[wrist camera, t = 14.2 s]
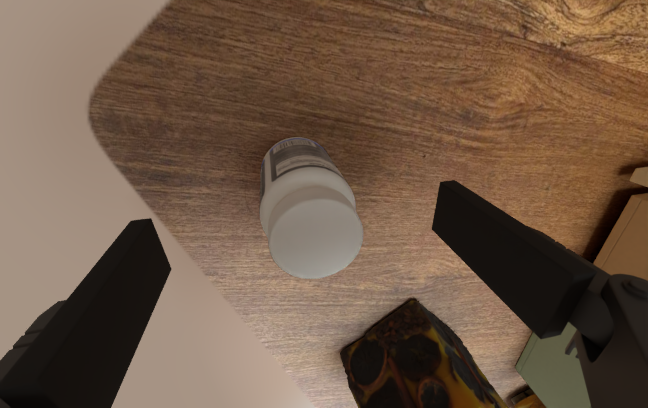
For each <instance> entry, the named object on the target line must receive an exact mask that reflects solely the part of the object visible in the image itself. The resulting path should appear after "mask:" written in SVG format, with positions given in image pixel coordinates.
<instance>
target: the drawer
mask: <svg viewBox="0 0 648 408" xmlns="http://www.w3.org/2000/svg"><path fill="white" fill-rule="evenodd" d="M629 181H631V182H634V183H637V184H640V185H642V186H645V187H648V167H642V168H636V169H635V171H634V173H633V174H632V176H631V178H630V180H629ZM593 264H594V265H595V266H597V267H599V268H600V269H602V270H603V271H605V272H607V273H608V274H610V275H613V274H627V275H633V276H636V277H639V278H643V279H645V280H647V281H648V193H644V194H637V195H632V196H631V198H630V199H629V201H628V203H627V205H626V206H625V208H624V210H623V212H622V214H621V215H620V217H619V219H618V221H617V222H616V224H615V226H614V228H613V229H612V231H611V233H610V235H609V236H608V238H607V240H606V242H605V243H604V245H603V247H602V249H601V251H600V252H599V254H598V256H597V258H596V259H595V261H594V263H593Z"/></svg>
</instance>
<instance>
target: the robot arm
mask: <svg viewBox="0 0 648 408" xmlns="http://www.w3.org/2000/svg"><path fill="white" fill-rule="evenodd" d="M432 230H433V231H434V232H435V233H436V234H437V235H438V236H439V237H440V238H441V239H442V240H443V241H444V242H445V243H446V244H447V245H448V246H449V247H450V248H451V249H452V250H453V251H454V252H455V253H456V254H457V255H458V256H459V257H460V258H461V259H462V260H463V261H464V262H465V263H466V264H467V265H468V266H469V267H470V268H471V269H472V270H473V271H474V272H475V273H476V274H477V275H478V276H479V277H480V278H481V279H482V280H483V281H484V282H485V284H486V285H487V286H488V287H489V288H490V289H491V290H492V291H493V292H494V293H495V294H496V295H497V296H498V297H499V298H500V299H501V300H502V301H503V302H504V303H505V304H506V305H507V306H508V307H509V308H510V309H511V310H512V311H513V312H514V313H515V314H516V315H517V316H518V317H519V318H520V319H521V320H522V321H523V322H524V323H525V324H526V325H527V326H528V327H529V328H530V329H531V330H532V331H533V332H534V333H535V334H536V335H537V336H538V337H539V338H540V339H545V338H550V337H554V336H558V335H561V334H562V332H563V330H564V328H565V327H566V325H567V323H568V322H569V323H570V324H571V325H573V326H574V327H575V328H576V329H577V330H576V332H575V334H574V335H573V337H572V338H571V340H570V342H569V343H568V345H567V347H566V348H565V354H567V355H570V353H571V352H572V350H573V348H576V349H577V355H576V356H575V358H578V359H579V361H580V365H581V369H582V373H583V377H584V380H585V384H586V388H587V392H588V396H589V400H590V404H591V408H648V281H647V280H645V279H643V278H639V277H636V276H633V275H627V274H613V275H610V274H608V273H607V272H605V271H603V270H602V269H600V268H599V267H597V266H595V265H594V264H592V263H591V262H589V261H587V260H586V259H584V258H583V257H581V256H579V255H578V254H576V253H575V252H573V251H571V250H570V249H566V248H565V246H563V245H562V244H560V243H559V242H555V240H554V239H552V238H551V237H549V236H547V235H546V234H544V233H543V232H541V231H538V230H536V229H533V228H531V227H528V226H525V225H524V224H522V223H521V222H519V221H518V220H516V219H514V218H513V217H511V216H510V215H508V214H507V213H505V212H503V211H502V210H500V209H499V208H497V207H496V206H494V205H493V204H491V203H489V202H488V201H486V200H485V199H483V198H482V197H480V196H478V195H477V194H475V193H474V192H472V191H471V190H469V189H467V188H466V187H464V186H463V185H461V184H460V183H458V182H457V181H455V180H452V181H444V182H440V186H439V192H438V197H437V203H436V209H435V214H434V220H433V225H432ZM170 271H171V267H170V264H169V262H168V259H167V257H166V254H165V252H164V249H163V247H162V244H161V242H160V239H159V237H158V234H157V232H156V230H155V227H154V225H153V222H152V220H151V219H142V220H134V221H131V222H130V223H129V224H128V225H127V226H126V228H125V229H124V230H123V231H122V232H121V234H120V235H119V236H118V237H117V239H116V240H115V241H114V242H113V244H112V245H111V246H110V247H109V248H108V250H107V251H106V252H105V253H104V255H103V256H102V257H101V258H100V260H99V261H98V262H97V263H96V265H95V266H94V267H93V268H92V269H91V271H90V272H89V273H88V274H87V276H86V277H85V278H84V279H83V281H82V282H81V283H80V284H79V285H78V287H77V288H76V289H75V290H74V292H73V293H72V294H71V295H70V297H69V298H68V299H67V300H64V301H58V302H57V303H56V304H54V305H53V306H52V307H50V308H49V309H48V310H47V311H45V312H44V313H43V314H41V315H40V316H39V317H38V318H37V319H36V320H35V321H34V323H33V324H32V325H31V326H30V327H29V328H28V330H27V331H26V332H25V335H24V336H21V337H20V339H19V340H18V341H17V342H16V343H15V344H14V346H13V349H12V350H9V351H8V352H7V354H6V355H5V356H4V357H3V358H2V359H1V360H0V408H111V406H112V404H113V402H114V399H115V397H116V395H117V392H118V390H119V388H120V386H121V383H122V381H123V379H124V376H125V374H126V372H127V370H128V367H129V365H130V363H131V361H132V358H133V356H134V353H135V351H136V349H137V347H138V344H139V342H140V340H141V337H142V335H143V333H144V331H145V328H146V326H147V324H148V321H149V319H150V317H151V315H152V312H153V310H154V308H155V305H156V303H157V301H158V299H159V296H160V294H161V291H162V289H163V287H164V285H165V283H166V280H167V278H168V276H169V273H170Z"/></svg>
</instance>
